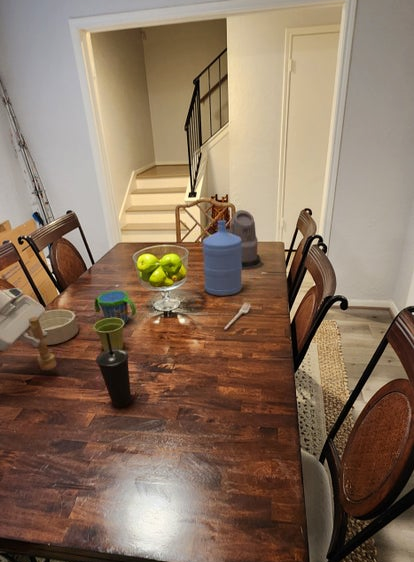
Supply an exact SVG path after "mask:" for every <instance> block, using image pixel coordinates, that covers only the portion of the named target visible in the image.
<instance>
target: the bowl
mask: <svg viewBox="0 0 414 562" xmlns="http://www.w3.org/2000/svg"><path fill="white" fill-rule="evenodd" d="M39 322H40V326H41V327H42V329H43V331H45V332H46V333H47V334H48V335H47V336H46V337H45V341H46V345H47V346H53V345H58V344H61V343H64V342H68V341H69V340H71V339H73V338H74V337H75V336H76V335H77V334H78V332H79V329H80V328H79V323H78V320H77V315H76V314H75V313H74V311H72V310H70V309H61V308H60V309H51V310H47V311H46V310H45V313H44V314H43V316H42V317H41V318H40V319H39ZM27 332H28V335H29V336H30V337H33V338H34V335H33V332H32V329H29V330H28V331H27Z"/></svg>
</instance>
